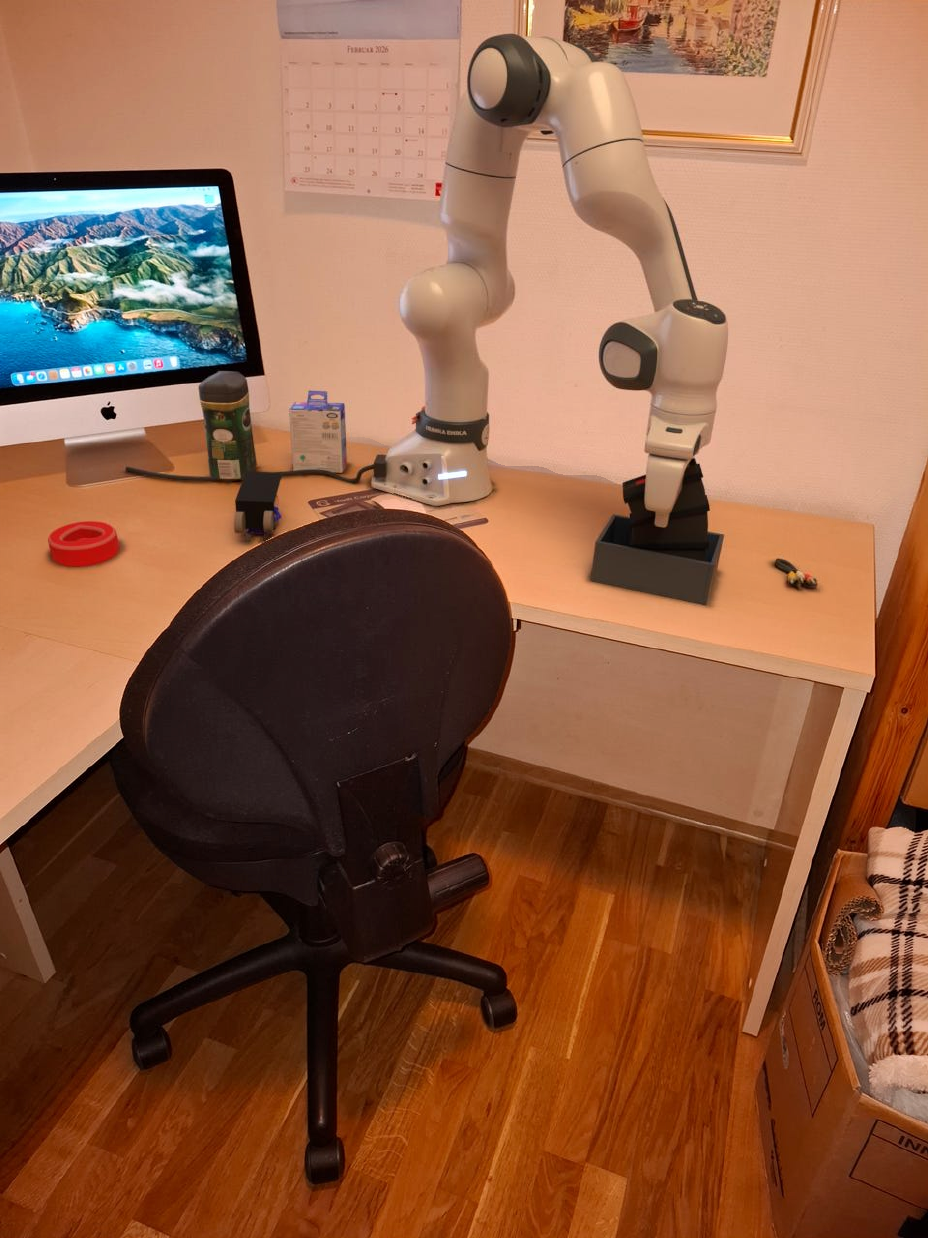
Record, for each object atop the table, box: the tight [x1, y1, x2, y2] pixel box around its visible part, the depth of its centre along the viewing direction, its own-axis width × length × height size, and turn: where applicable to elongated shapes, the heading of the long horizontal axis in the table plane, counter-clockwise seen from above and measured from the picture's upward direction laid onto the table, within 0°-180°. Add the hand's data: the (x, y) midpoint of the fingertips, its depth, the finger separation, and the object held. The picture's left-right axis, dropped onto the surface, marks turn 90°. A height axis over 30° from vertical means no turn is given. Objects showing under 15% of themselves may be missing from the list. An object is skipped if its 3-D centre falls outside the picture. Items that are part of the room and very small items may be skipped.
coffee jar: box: [198, 370, 257, 483], centre depth 155 cm, size 10×8×19 cm
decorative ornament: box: [47, 520, 120, 567], centre depth 129 cm, size 10×10×3 cm
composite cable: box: [774, 558, 818, 590], centre depth 130 cm, size 10×5×2 cm, turn 177°
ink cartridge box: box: [288, 390, 348, 474], centre depth 160 cm, size 10×6×14 cm, turn 89°
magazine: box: [621, 457, 711, 561], centre depth 125 cm, size 4×13×15 cm, turn 82°
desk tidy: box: [590, 513, 725, 606], centre depth 128 cm, size 17×11×6 cm, turn 68°
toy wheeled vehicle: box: [233, 470, 283, 542], centre depth 138 cm, size 7×8×15 cm
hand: (664, 517), depth 124 cm, fingers closed on magazine, 4 cm apart
